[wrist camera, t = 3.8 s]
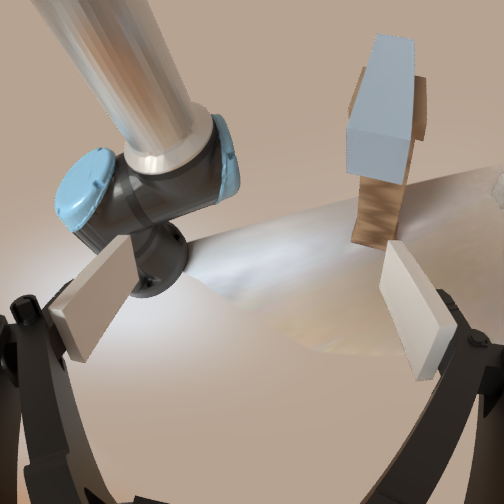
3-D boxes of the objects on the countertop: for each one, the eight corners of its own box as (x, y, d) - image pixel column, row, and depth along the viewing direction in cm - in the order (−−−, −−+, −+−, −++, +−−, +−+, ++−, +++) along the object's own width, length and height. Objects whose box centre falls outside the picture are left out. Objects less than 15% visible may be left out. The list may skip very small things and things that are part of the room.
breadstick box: (346, 172, 21) (346, 127, 18) (377, 64, 28) (376, 33, 25) (402, 185, 19) (410, 140, 16) (412, 71, 27) (414, 39, 23)
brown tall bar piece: (344, 263, 48) (348, 108, 25) (357, 218, 52) (363, 66, 28) (387, 274, 46) (426, 123, 22) (397, 227, 49) (425, 77, 26)
